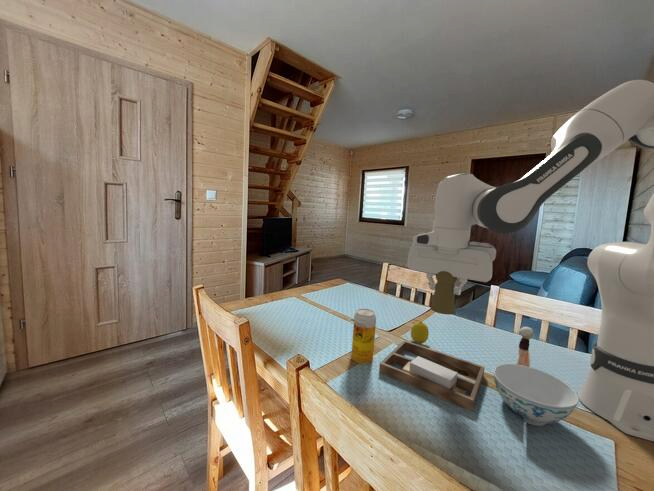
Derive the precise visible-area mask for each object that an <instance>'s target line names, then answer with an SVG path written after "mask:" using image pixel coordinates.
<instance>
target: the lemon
mask: <svg viewBox="0 0 654 491" xmlns="http://www.w3.org/2000/svg"><path fill="white" fill-rule="evenodd" d="M410 328H411V329H410V337H411V340H412V341H413V343H416V344H417V343H418V344H424V343H426V342H427V341H428V338H429V327H428V326H427V324H426V323H424V322H423V321H421V320H420V321H417V322H415V323H413V324H412V327H410Z"/></svg>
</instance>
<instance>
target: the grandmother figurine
mask: <svg viewBox="0 0 654 491" xmlns="http://www.w3.org/2000/svg"><path fill="white" fill-rule="evenodd" d="M518 332H519V333H520V334H521V339H520V341H519V344H518V358H517V363H516V364H517V365H523V366H527V367H531V366H530V365H531V360H530V340H531V339H532V338H533V332H534V329H533V328H531V327H528V326H522V327H521V328H520V329H519V330H518Z"/></svg>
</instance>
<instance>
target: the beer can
mask: <svg viewBox="0 0 654 491" xmlns="http://www.w3.org/2000/svg"><path fill="white" fill-rule="evenodd" d="M353 314H354V316H353V330H352V341H351V342H352V344H351V357H350V358H351V359H352V361H354V362H356V363H358V364H370V363H372V362H373V360H374V350H375V340H376V339H375V337H376V336H375V335H376V326H377V325H376V324H377V316H376V312H375V311H374V310H372V309H368V308H358V309H356V311H355V313H353Z"/></svg>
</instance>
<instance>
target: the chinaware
mask: <svg viewBox="0 0 654 491" xmlns="http://www.w3.org/2000/svg"><path fill="white" fill-rule="evenodd" d="M493 379H494V383H495V387H496V390H497V392H498V395H499V396H500V397H501V400H502V401H503V402H504V403H505V404H506V405H507V406H508V408H509V409H511V410H512V411H513V412H515V413H516V414H517V415H519V416H521V417H523V420H522V421H523V422H524V423H526V424H529V425H531V426H535V427H536V426H537V427H542V426H545V425H546V424H552V423H557V422H560V421H562V420H565V419H567V417H569V416H570V415H571V414H572V413H573V412H574V411H575V409H576V408H577V406H578V404H579V398H578V395H577V394H578V393H576V391H575V390H574V389H573V388H572V387H571V386H569V385H568V384H567V383H566V382H565V381H563V380H561V379H559V378H558V377H555V376H554V375H552V374H550V373H547V372H545V371H543V370H541V369H537V368H534V367H531V366H530V367H527V366H523V365H517V363H516V364H515V363H513V364H512V363H503V364H500V365H497V366H496V367H495V368H494V370H493Z"/></svg>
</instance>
